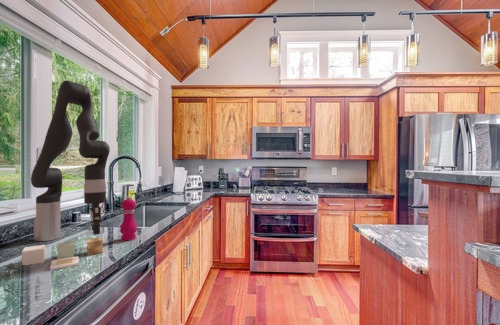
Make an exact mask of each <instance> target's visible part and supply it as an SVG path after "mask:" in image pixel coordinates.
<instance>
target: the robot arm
mask: <svg viewBox="0 0 500 325" xmlns="http://www.w3.org/2000/svg"><path fill="white" fill-rule="evenodd" d="M59 85H60V86H59V88H58V92H57V97H56V102H55V106H54V110H53V114H52V117H51V121H50V124H49V126H48V128H47V131H46V135H45V137H44V142H43V145H42V149H41V151H40V153H39V156H38V158H37V160H36V162H35V163H36V164H35V165H34V167H33V169H32V172H31V175H30V176H31V177H30V183H31V185H32V187H34V188H36V189H46V188H47V190H46V191H44V192H43V193H42V194H40V195H37V196H36V197H35V218H34V219H33V241H37V242H47V241H49V242H50V241H53V240H58V239H60V238H61V197H62V193H63V172H62V170H61V169H60V168H59V167H51V166H52V163H53V162H54V161H55V160H56V159H57V158H58V157H59V156H61V154H63V153H64V152H65V151H66V150H67V148H69V145H70V143H71V139H73V138H72V137H73V131H74V130H73V127H72V125H71V123H70V120H69V118H68V113H67V110H68V109H67V108H68V104H71V105H75V106H76V105H77V106H80V108H81V109H82V110H81V112H80V113H79V115H78V116H77V118H76V123H75V124H76V128H77V131H78V135H79V145H78V153H79V154H80V156H81V157H83V158H85V159H96V161H95V163H91V164H87V165H85V166H84V182H83V183H84V184H83V185H84V186H83V191H84V192H83V197H84V199H83V200H84V204H86V205H90V207H89V216H90V220H91V230H92V231H93V232H92V234H93V235H100V234H101V223H102V220H101V219H102V210H103V209H102V206H100V204H104V203H106V202H107V184H106V183H107V182H106V166H107V162H108V157H109V155H110V151H111V150H110V148H111V147H110V145H109V143H108V142H106V141H104V140H98V139H99V137H100V132H99V128H98V125H97V122H96V120H95V116H94V115H95V114H94V105H93V100H92V98H93V97H92V93H91V90H90V88H89V87H88V86H86V85H84V84H81V83H77V82H73V81H71V80H63V81H62V82H61V84H59Z"/></svg>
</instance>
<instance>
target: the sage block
mask: <svg viewBox="0 0 500 325" xmlns="http://www.w3.org/2000/svg"><path fill="white" fill-rule="evenodd" d="M71 257H75V241H74V240H73V241H65V242H64V241H63V242H58V243H57V260H59V259H65V258H71Z"/></svg>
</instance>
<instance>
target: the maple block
mask: <svg viewBox="0 0 500 325" xmlns="http://www.w3.org/2000/svg"><path fill="white" fill-rule="evenodd" d="M103 243H104V242H103V237H96V238H88V239H87V245H86V248H87V255H88V256H92V255H97V254H98V255H99V254H102V253H104V252H103V250H104V248H103V246H104V245H103Z"/></svg>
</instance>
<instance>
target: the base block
mask: <svg viewBox="0 0 500 325" xmlns="http://www.w3.org/2000/svg"><path fill="white" fill-rule="evenodd" d="M45 260H46V244H40V245H33V246H32V245H31V246H27V247H26V246H25V247H23V250H22V251H21V266H22V265H26V266H30V264H32V265H36V264H37V263H38V264H43V263H45Z"/></svg>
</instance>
